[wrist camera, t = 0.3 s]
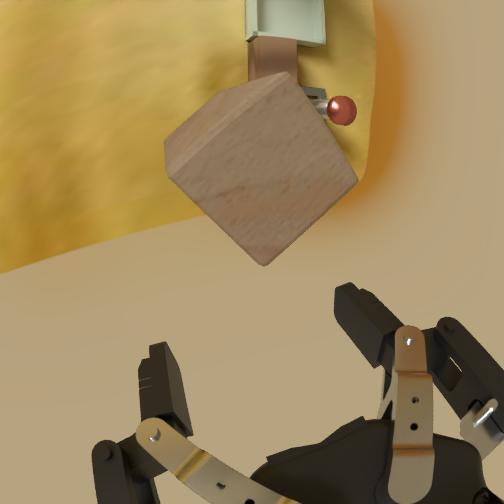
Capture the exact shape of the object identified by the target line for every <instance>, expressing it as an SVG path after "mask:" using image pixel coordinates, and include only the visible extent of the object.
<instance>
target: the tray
mask: <svg viewBox="0 0 504 504" xmlns="http://www.w3.org/2000/svg"><path fill="white" fill-rule="evenodd" d="M245 29H246V41H253V40H254V39H256V38H257V37H258V36H260V35H262V36H274V37H283V38H291V39H296V44H297V45H301V46H308V47H314V48H315V47H319V46H322V45H326V32H325V14H324V0H245Z"/></svg>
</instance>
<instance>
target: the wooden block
mask: <svg viewBox="0 0 504 504" xmlns="http://www.w3.org/2000/svg"><path fill="white" fill-rule="evenodd" d="M164 150H165V163H166V172H167V175H168V177H169V179H171V180H172V181H173V182H174V183H175V184H176V185H177V186H178V187H179V188H180V189H181V190H182V191H183V192H184V193H185V194H186V195H187V196H188V197H189V198H190V199H191V200H192V201H193V202H194V203H195V204H196V205H197V206H198V207H199V208H200V209H202V210H203V211H204V212H205V213H206V214H207V215H208V216H209V217H210V218H211V219H212V220H213V221H214V222H215V223H216V224H217V225H218V226H219V227H220V228H221V229H222V230H223V231H224V232H225V233H227V234H228V236H230V237H231V238H232V239H233V240H234V241H235V242H236V243H237V244H238V245H239V246H240V247H241V248H242V249H243V250H244V251H245V252H246V253H247V254H248V255H249V256H250V257H251V258H252V259H253V260H254V261H256V262H257V263H258V264H259V265H262V266H266V265H268V264H270V262H272V261H273V260H274V259H275V258H276V257H277V256H279V255H280V254H281V253H282V252H283V251H284V250H285V249H286V248H287V247H289V246H290V245H291V244H292V243H293V242H294V241H295V240H296V239H297V238H298V237H299V236H301V235H302V234H303V233H304V232H305V231H306V230H307V229H308V228H309V227H311V226H312V225H313V224H314V223H315V222H316V221H317V220H318V219H319V218H320V217H322V216H323V215H324V214H325V213H326V212H327V211H328V210H329V209H330V208H331V207H332V206H334V205H335V204H336V202H338V201H339V200H340V199H341V198H342V197H343V196H344V195H345V194H347V193H348V192H349V191H350V190H351V189H352V188H353V187H354V186H355V185H356V184H357V183H358V177H357V175H356V173H355V172H354V170H353V168H352V166H351V165H350V163H349V161H348V159H347V158H346V156H345V154H344V153H343V151H342V149H341V148H340V146H339V144H338V143H337V141H336V139H335V138H334V136H333V135H332V133H331V131H330V130H329V128H328V127H327V125H326V124H325V122H324V121H323V119H322V118H321V116H320V115H319V113H318V112H317V110H316V109H315V107H314V106H313V104H312V103H311V101H310V100H309V99H308V97H307V96H306V94H305V93H304V91H303V90H302V89H301V87H300V86H299V85H298V83H297V82H296V81H295V79H294V78H293V77H292V75H291V74H289V73H288V72H281V73H277V74H273V75H270V76H266V77H263V78H260V79H256V80H253V81H250V82H247V83H244V84H241V85H238V86H235V87H232V88H229V89H226V90H223V91H221V92H219V93H218V94H217V95H215V96H214V97H213V98H212V99H211V100H209V101H208V102H207V103H206V104H204V105H203V106H202V107H201V108H200V109H199V110H197V111H196V112H195V113H194V114H193V115H192V116H191V117H189V118H188V119H187V120H186V121H185V122H184V123H183V124H182V125H181V126H179V127H178V128H177V129H176V130H175V131H174V132H173V133H172V134H171V135H170V136H169V137H168V138H167V139H166V140H165V141H164Z"/></svg>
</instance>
